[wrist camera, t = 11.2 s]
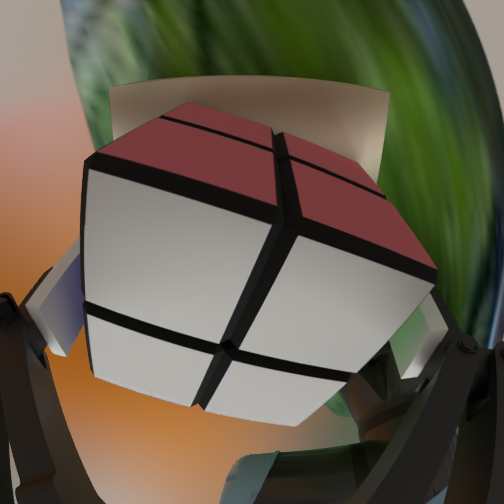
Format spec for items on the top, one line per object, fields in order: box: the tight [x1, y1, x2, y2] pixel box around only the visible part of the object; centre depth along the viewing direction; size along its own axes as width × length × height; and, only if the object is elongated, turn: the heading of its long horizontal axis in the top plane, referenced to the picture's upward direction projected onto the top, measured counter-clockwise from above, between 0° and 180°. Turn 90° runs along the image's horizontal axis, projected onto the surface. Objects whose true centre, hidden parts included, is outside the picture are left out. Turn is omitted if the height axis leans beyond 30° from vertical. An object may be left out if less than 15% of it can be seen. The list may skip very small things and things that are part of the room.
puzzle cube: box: [80, 102, 438, 427], centre depth 13 cm, size 10×10×10 cm
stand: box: [109, 75, 390, 184], centre depth 20 cm, size 15×15×6 cm
